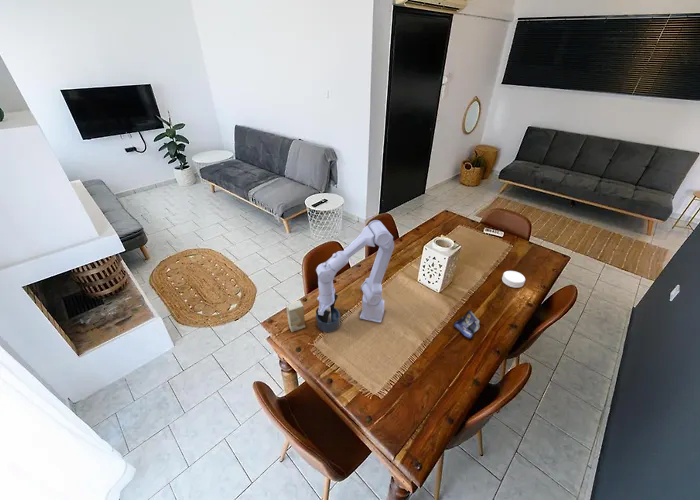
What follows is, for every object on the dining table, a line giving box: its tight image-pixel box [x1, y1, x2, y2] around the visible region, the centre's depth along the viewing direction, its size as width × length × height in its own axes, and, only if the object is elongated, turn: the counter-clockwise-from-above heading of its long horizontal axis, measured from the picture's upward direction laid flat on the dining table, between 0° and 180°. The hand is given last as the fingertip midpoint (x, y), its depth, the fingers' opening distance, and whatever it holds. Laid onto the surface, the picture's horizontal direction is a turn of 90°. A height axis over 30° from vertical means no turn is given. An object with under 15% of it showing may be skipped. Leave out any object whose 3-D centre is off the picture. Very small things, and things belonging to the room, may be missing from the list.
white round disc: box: [501, 270, 526, 289], centre depth 150 cm, size 10×10×4 cm
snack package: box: [453, 309, 481, 340], centre depth 124 cm, size 12×6×12 cm
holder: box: [315, 306, 341, 333], centre depth 128 cm, size 10×10×5 cm
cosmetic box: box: [285, 299, 306, 333], centre depth 124 cm, size 6×4×12 cm
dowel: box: [326, 307, 331, 323], centre depth 126 cm, size 3×3×8 cm
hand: (328, 315), depth 127 cm, fingers open, 7 cm apart
